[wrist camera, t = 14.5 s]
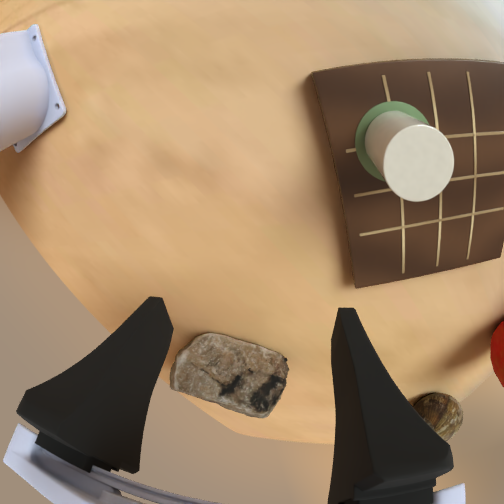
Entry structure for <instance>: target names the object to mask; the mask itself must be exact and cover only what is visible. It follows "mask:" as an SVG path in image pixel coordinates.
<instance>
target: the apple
mask: <svg viewBox="0 0 504 504" xmlns="http://www.w3.org/2000/svg"><path fill="white" fill-rule="evenodd" d="M491 362H492V365H493V369H494V372H495V374H496V376H497V377H498V379H499V381H500V382H501V384H502V386H503V387H504V321H502V322H501V323H500V325H499V326H498V327H497V328H496V330H495V331H494V333H493V334H492V338H491Z"/></svg>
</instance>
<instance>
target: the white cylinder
mask: <svg viewBox="0 0 504 504" xmlns="http://www.w3.org/2000/svg"><path fill="white" fill-rule="evenodd" d="M365 149H366V153H367V155H368V157H369V159H370V160H371V162H372V163H373V165H374V166H375V167H376V169H377V170H378V172H379V173H380V174H381V176H382V177H383V179H384V180H385V182H386V183H387V185H388V186H389V188H390V189H391V190H392V191H393V192H394V193H395V194H396V195H397V196H399V197H400V198H403V199H405V200H408V201H413V202H420V201H425V200H429V199H431V198H433V197H435V196H436V195H438V194H439V193H440V192H441V191H442V190H443V189H444V188H445V187H446V185H447V184H448V182H449V180H450V178H451V176H452V173H453V168H454V156H453V151H452V148H451V145H450V143H449V141H448V140H447V138H446V137H445V136H444V135H443V134H442V133H441V132H440V131H439V130H437V129H435V128H434V127H432V126H430V125H428V124H426V123H425V122H423V121H421V120H419V119H417V118H415V117H413V116H411V115H409V114H407V113H405V112H401V111H388V112H385V113H382V114H380V115H379V116H377V117H376V118H375V119H374V120H373V121H372V122H371V123H370V125H369V127H368V129H367V131H366V135H365Z"/></svg>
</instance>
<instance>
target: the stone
mask: <svg viewBox="0 0 504 504" xmlns="http://www.w3.org/2000/svg"><path fill="white" fill-rule="evenodd" d="M286 361H287V358H284V356H283V355H281V354H280V353H277V352H274V351H271V350H268V349H266V348H264V347H262V346H259V345H256V344H251V343H247V342H244V341H241V340H237V339H234V338H232V337H229V336H226V335H221V334H215V333H207V334H203V335H200V336H197V337H195V338H194V340H192V341H191V342H190V343H188V344H187V345H186V346H185V347H184V348H183V349H181V350H180V351H179V352H178V354H177V355H176V358H175V362H174V363H173V365H172V368H171V372H170V387H171V389H172V390H175V391H179V392H183V393H186V394H188V395H192V396H194V397H197V398H201V399H203V400H205V401H209V402H214V403H217V404H219V405H220V406H222V407H224V408H226V409H229V410H233V411H235V412H239V413H242V414H245V415H247V416H250V417H257V418H266V417H268V416H269V414H270V413H271V411H272V410H273V409H274V407H275V406H276V404H277V402H278V401H279V400H280V398H281V395H282V392H283V390H284V388H285V386H286V378H287V374H288V370H289V368H288V365H287V363H286Z"/></svg>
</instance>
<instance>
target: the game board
mask: <svg viewBox="0 0 504 504" xmlns="http://www.w3.org/2000/svg"><path fill="white" fill-rule="evenodd" d="M311 75H312V79H313V82H314V85H315V89H316V92H317V96H318V99H319V103H320V107H321V110H322V114H323V118H324V122H325V126H326V130H327V134H328V138H329V142H330V147H331V151H332V155H333V160H334V164H335V169H336V174H337V179H338V184H339V189H340V194H341V200H342V205H343V211H344V217H345V223H346V229H347V235H348V242H349V249H350V256H351V264H352V272H353V280H354V285H355V288H356V289H357V288H362V287H368V286H373V285H379V284H384V283H389V282H394V281H399V280H404V279H409V278H414V277H419V276H424V275H428V274H433V273H437V272H442V271H446V270H451V269H455V268H459V267H464V266H468V265H472V264H476V263H480V262H484V261H488V260H492V259H496V258H500V257H501V252H502V248H503V243H504V62H497V61H487V60H473V59H407V60H392V61H381V62H372V63H363V64H356V65H349V66H342V67H336V68H330V69H325V70H319V71H314V72H311ZM388 111H401V112H405V113H407V114H409V115H411V116H413V117H415V118H417V119H419V120H421V121H423V122H425V123H426V124H428V125H430V126H432V127H434V128H435V129H437V130H439V131H440V132H441V133H442V134H443V135H444V136H445V137H446V138H447V140H448V141H449V143H450V145H451V148H452V151H453V156H454V168H453V173H452V176H451V178H450V180H449V182H448V184H447V185H446V187H445V188H444V189H443V190H442V191H441V192H440V193H439V194H438V195H436V196H435V197H433V198H431V199H429V200H425V201H420V202H413V201H408V200H405V199H403V198H400V197H399V196H397V195H396V194H395V193H394V192H393V191H392V190H391V189H390V188H389V186H388V185H387V183H386V182H385V180H384V179H383V177H382V176H381V174H380V173H379V172H378V170H377V169H376V167H375V166H374V165H373V163H372V162H371V160H370V159H369V157H368V155H367V153H366V149H365V135H366V131H367V129H368V127H369V125H370V123H371V122H372V121H373V120H374V119H375V118H376V117H377V116H379V115H380V114H382V113H385V112H388Z"/></svg>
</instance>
